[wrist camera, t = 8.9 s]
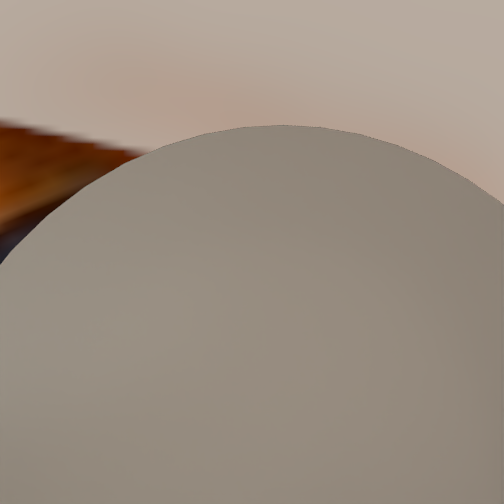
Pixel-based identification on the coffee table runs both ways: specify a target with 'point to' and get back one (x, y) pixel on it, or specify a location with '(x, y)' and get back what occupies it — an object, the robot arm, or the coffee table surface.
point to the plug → (258, 330)
